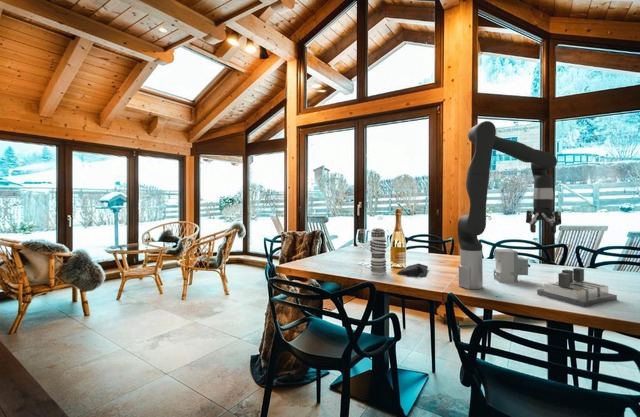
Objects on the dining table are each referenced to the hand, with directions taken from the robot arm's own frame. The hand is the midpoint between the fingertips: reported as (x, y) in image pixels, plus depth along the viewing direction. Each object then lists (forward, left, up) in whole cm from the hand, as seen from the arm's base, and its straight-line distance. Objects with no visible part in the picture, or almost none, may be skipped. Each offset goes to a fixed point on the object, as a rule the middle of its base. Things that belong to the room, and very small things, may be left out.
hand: (542, 233), depth 144 cm
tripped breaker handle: (-13, -17, -19) cm, 29 cm away
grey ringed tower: (-55, +53, -24) cm, 80 cm away
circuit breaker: (-5, +11, -24) cm, 27 cm away
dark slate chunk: (-36, +46, -25) cm, 64 cm away
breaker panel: (-6, -17, -24) cm, 30 cm away
